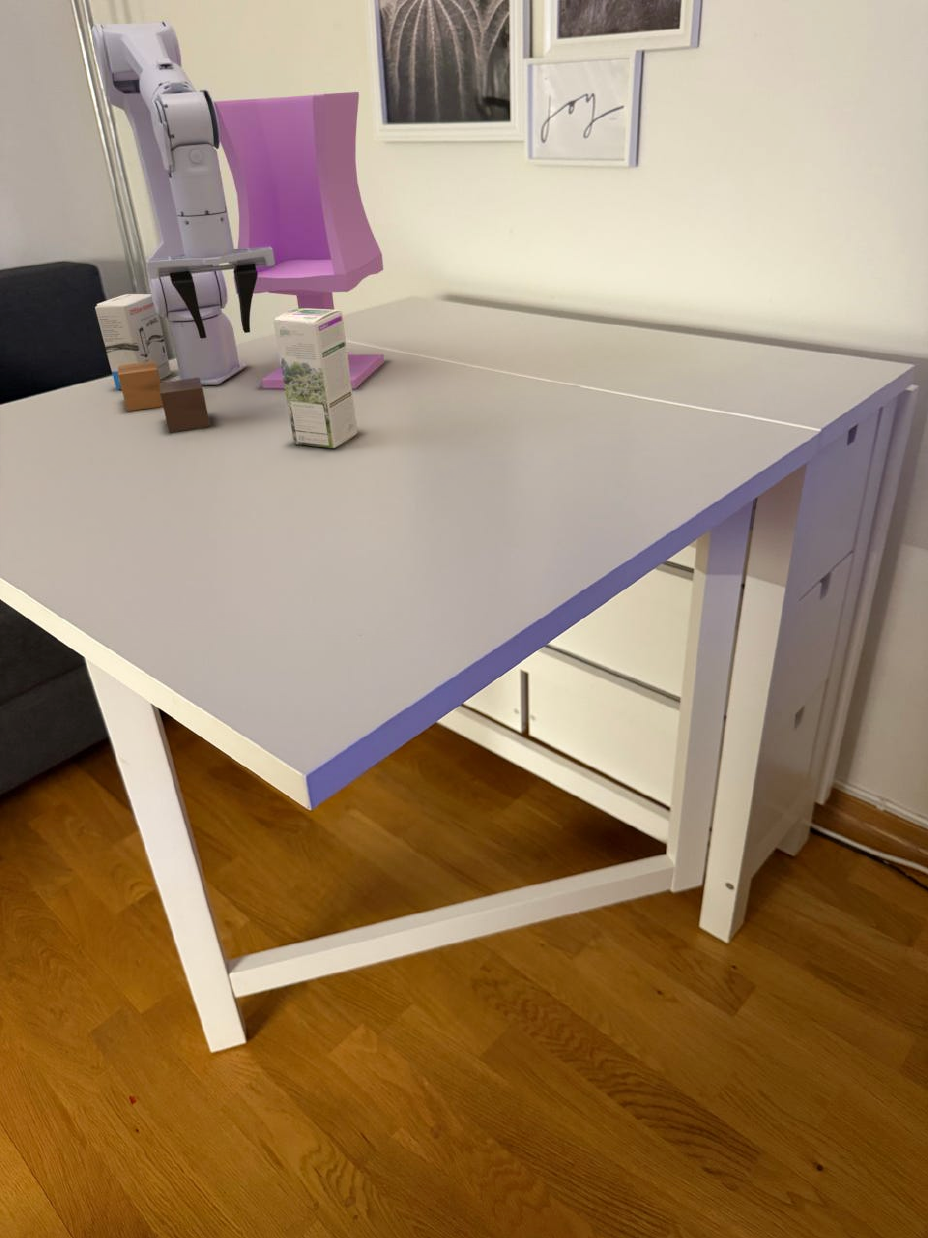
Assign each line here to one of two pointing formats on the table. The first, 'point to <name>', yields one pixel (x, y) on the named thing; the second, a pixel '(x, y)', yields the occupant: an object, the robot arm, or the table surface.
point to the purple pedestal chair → (302, 200)
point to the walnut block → (184, 404)
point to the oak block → (140, 385)
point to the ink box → (132, 333)
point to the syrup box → (316, 376)
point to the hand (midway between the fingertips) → (224, 333)
